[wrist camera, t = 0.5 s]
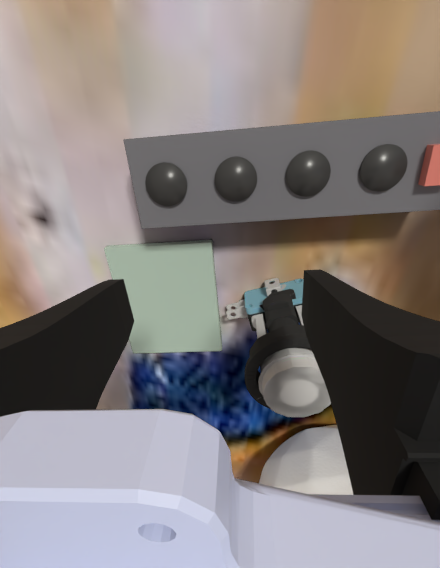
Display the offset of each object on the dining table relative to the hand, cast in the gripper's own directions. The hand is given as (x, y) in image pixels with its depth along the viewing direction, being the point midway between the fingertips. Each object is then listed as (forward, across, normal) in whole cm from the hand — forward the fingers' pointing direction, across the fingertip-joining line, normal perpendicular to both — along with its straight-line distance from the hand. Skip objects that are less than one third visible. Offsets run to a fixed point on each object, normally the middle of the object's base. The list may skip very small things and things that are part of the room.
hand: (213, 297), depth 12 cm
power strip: (+10, -4, -3) cm, 12 cm away
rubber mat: (+10, +5, +6) cm, 13 cm away
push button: (+11, -3, +6) cm, 13 cm away
